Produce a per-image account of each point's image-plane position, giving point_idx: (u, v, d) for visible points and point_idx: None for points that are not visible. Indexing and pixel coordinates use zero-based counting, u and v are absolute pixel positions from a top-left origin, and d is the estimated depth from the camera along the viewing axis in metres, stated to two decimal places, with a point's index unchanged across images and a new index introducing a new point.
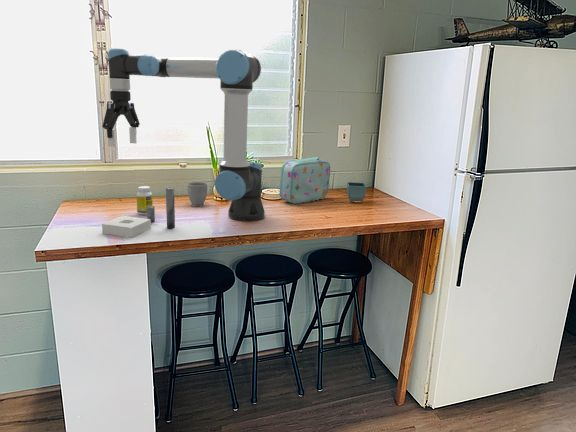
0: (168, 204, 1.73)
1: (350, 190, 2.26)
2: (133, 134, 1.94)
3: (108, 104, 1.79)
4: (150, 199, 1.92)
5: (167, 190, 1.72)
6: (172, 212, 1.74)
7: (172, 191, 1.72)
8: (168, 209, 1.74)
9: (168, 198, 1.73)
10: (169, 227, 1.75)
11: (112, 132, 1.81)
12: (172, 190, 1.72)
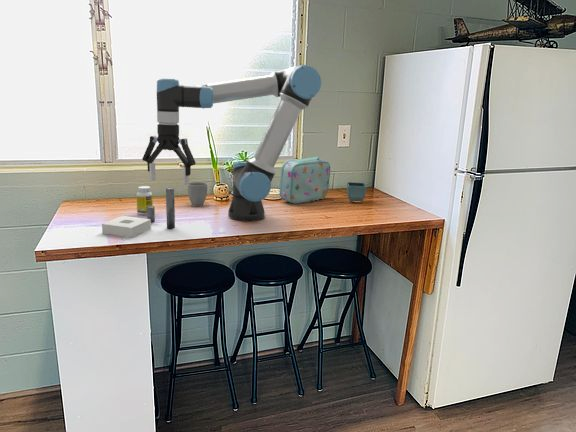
0: (168, 204, 1.73)
1: (350, 190, 2.26)
2: None
3: None
4: (150, 199, 1.92)
5: (167, 190, 1.72)
6: (172, 212, 1.74)
7: (172, 191, 1.72)
8: (168, 209, 1.74)
9: (168, 198, 1.73)
10: (169, 227, 1.75)
11: None
12: (172, 190, 1.72)
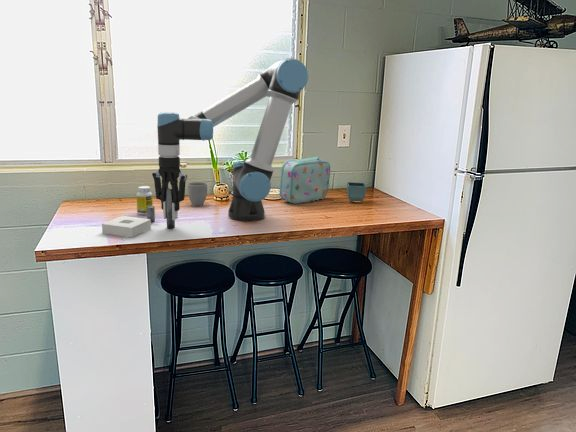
0: (168, 204, 1.73)
1: (350, 190, 2.26)
2: None
3: None
4: (150, 199, 1.92)
5: (167, 190, 1.72)
6: None
7: None
8: (168, 209, 1.74)
9: (168, 198, 1.73)
10: (169, 227, 1.75)
11: (163, 204, 1.74)
12: None
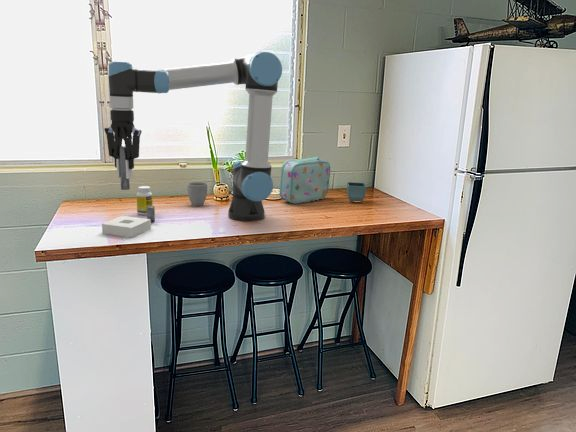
0: (121, 163, 1.63)
1: (350, 190, 2.26)
2: None
3: None
4: (150, 199, 1.92)
5: (120, 148, 1.62)
6: None
7: None
8: (122, 169, 1.63)
9: (121, 157, 1.62)
10: (123, 188, 1.65)
11: None
12: None
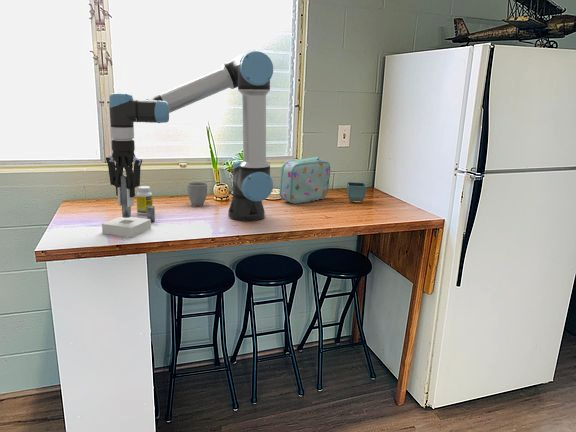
0: (123, 192, 1.66)
1: (350, 190, 2.26)
2: None
3: None
4: (150, 199, 1.92)
5: (121, 177, 1.64)
6: None
7: None
8: (123, 197, 1.66)
9: (122, 185, 1.65)
10: (124, 216, 1.68)
11: (118, 190, 1.66)
12: None
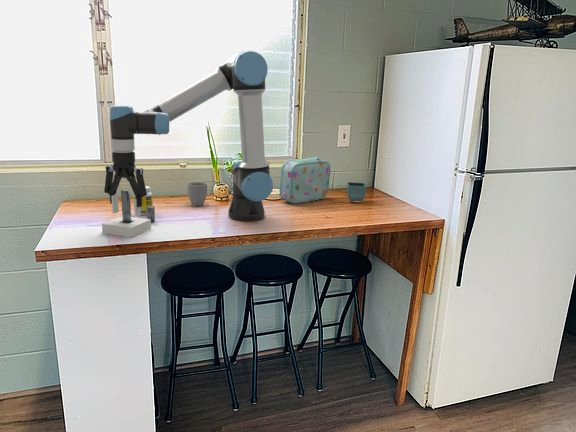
0: (123, 207, 1.67)
1: (350, 190, 2.26)
2: None
3: None
4: (150, 199, 1.92)
5: (122, 192, 1.66)
6: (128, 215, 1.68)
7: (127, 193, 1.66)
8: (124, 212, 1.67)
9: (123, 200, 1.66)
10: None
11: (111, 198, 1.68)
12: (127, 192, 1.66)
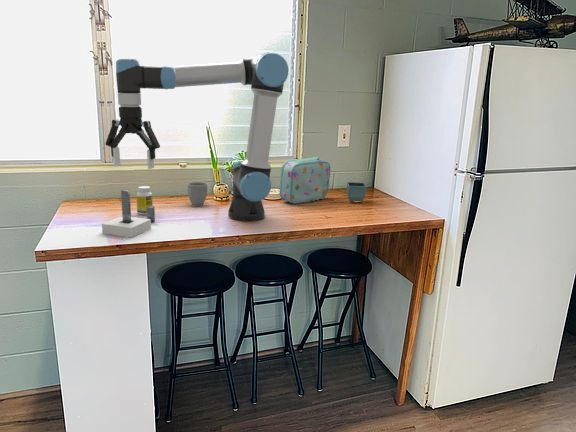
0: (123, 207, 1.67)
1: (350, 190, 2.26)
2: None
3: None
4: (150, 199, 1.92)
5: (122, 192, 1.66)
6: (128, 215, 1.68)
7: (127, 193, 1.66)
8: (124, 212, 1.67)
9: (123, 200, 1.66)
10: None
11: (113, 150, 1.67)
12: (127, 192, 1.66)
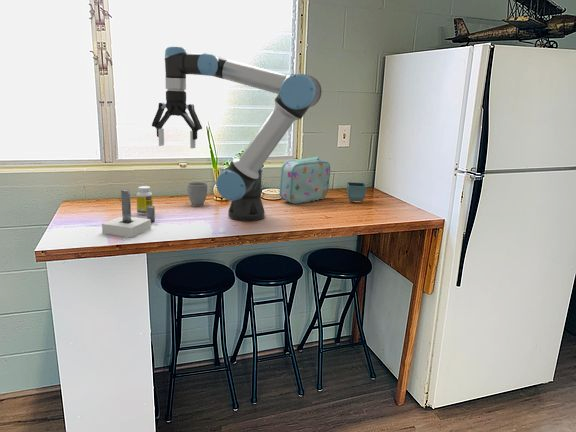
0: (123, 207, 1.67)
1: (350, 190, 2.26)
2: None
3: None
4: (150, 199, 1.92)
5: (122, 192, 1.66)
6: (128, 215, 1.68)
7: (127, 193, 1.66)
8: (124, 212, 1.67)
9: (123, 200, 1.66)
10: None
11: None
12: (127, 192, 1.66)
